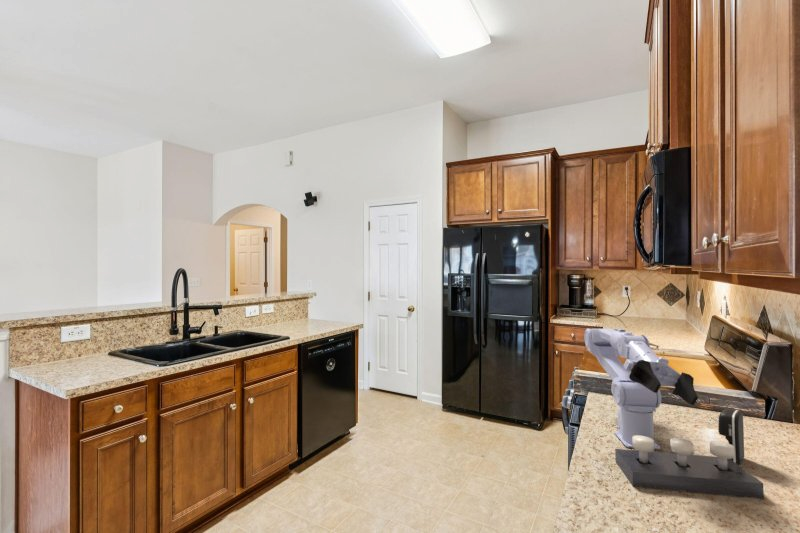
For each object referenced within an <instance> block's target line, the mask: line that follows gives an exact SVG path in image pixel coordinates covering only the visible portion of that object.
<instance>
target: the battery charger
mask: <svg viewBox="0 0 800 533" xmlns="http://www.w3.org/2000/svg"><path fill="white" fill-rule="evenodd" d="M743 414H744V413H743V411H740V410H738V409H732V408H725V409H723V410H722V411H721V412H720V414H719V415H718V426H717V427H718V434H719V435H721V436H723V437H725V440H726V441H727V443H728V444H731V445H733V446H734V452H735V458H733V459H731V460H732V461H734V462H735V463H736V464H738V465H739V466H741V464H742V463H743V460H744V458H745V439H744V438H745V437H744V435H745V434H744V433H745V431H744V429H745V428H744V415H743Z"/></svg>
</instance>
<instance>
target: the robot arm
mask: <svg viewBox="0 0 800 533" xmlns="http://www.w3.org/2000/svg"><path fill="white" fill-rule="evenodd" d="M583 337H584V338H583V339H584V340H583V341H584V345H585V348H586V350H588V352H589V353H590V354H591V355H593V356H594V357H596V359H597V361H598V363H599V364H600V366H601V367H602V368H603V369H604V371H605V372H606V373H607V375H608V376H609V377H610V379H611V381H612V382H611V388H610V389H611V390H610V391H611V394H612V396H613V399H614V403H616V405H617V406H619V407H618V409H617V430H615V431H614V434H615V436H617V438H618V439H619V440H620V441H621V443H622V444H623V445H624V446H625V447H626V448H632V449H634V448H633V444H632V437H633V436H636V435H640V436H646V437H649V438H651V439H653V440H654V450H659V451H660V450H661V449H662V448H661V446H660V445H659V444H658V443H657V442H656V441H655V435H654V432H655V431H654V430H655V427H654V412H657V409H658V408H659V407H660V405H661V404H662V394H661V393H662V392H661V390H660V388H661V387H674V389H673V391H672V395H675V396H678V397H680V398H681V399H682V400H683V401H685V402H686V403H687V404H689V405H691V406H694V405H696V403H697V401H698V398H699V397H698V395H697V393H696V391H695V390H696V389H695V386H694V381H695V380H694V377H693V376H692V375H691V374H690V373H689V374H688V373H686V372H681V373H679V372H678V371H676V369H674V368H673V367H671V366H670V365H669V363H670V361H669V360H668V359H667V358H666V357H661V356H660V357H659V355H657V354H656V353H655V352H654V350H652V348H651V346H650V345H651V344H650V341H649V339H648V337H647V336H646V335H645V334H642V335H634V334H633V333H632V332H630V331H629V332H627V330H626V329H623V328H586V329H585V331H584V335H583ZM619 357H620V358H622V359H625V362H624V363H623V362H622V360H620V358H619Z"/></svg>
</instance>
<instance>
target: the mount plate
mask: <svg viewBox="0 0 800 533" xmlns="http://www.w3.org/2000/svg"><path fill="white" fill-rule="evenodd" d="M614 451H615V452H614V453H615V454H614V456H615V463H616V464H617V466H618V468H619V469H620V470H621V471H622V473H623V475H624V476H625V478H626V479H627V480H628V482H629V483H630V485H631V486H632V487H635V488H644V489H645V488H646V489H656V490H666V491H678V492H686V493H687V492H688V493H695V494H697V493H698V494H707V495H717V496H718V495H719V496H729V497H738V498H749V499H760V500H761V499H762V500H764V499H765V495H764V494H765V493H764V482H762V481H760V479H758V478H757V477H756V476H754V475H753V474H751V473H750V472H748V471H747V470H746V469H745V468H744V467H742V466H741V465H738V464H736V463H735V462H734V461H732V460H731V459H727V467H728V470H722V469H719V468H718V460H717V456H714V455H713V456H711V455H710V456H709V455H701V454H700V455H699V454H693V455H690V456H687V467H683V466H679V465H678V456H677V453H675V452H672V453H671V452H660V451H653V452H648V463H641V462H640V461H639V451H638V450H636V449H634V450H633V449H622V448H621V449H620V448H615V449H614Z"/></svg>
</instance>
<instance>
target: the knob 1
mask: <svg viewBox="0 0 800 533" xmlns="http://www.w3.org/2000/svg"><path fill="white" fill-rule="evenodd" d="M654 442H655V439H654V440H653V439H651V438H649V437H646V436H640V435H636V436H633V437H632V444H633V448H632V449H634V450H636V451H639V461H640V462H641V463H648V452H655V449H654Z"/></svg>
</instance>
